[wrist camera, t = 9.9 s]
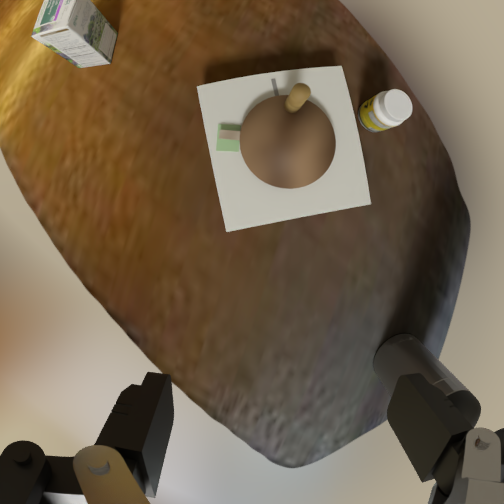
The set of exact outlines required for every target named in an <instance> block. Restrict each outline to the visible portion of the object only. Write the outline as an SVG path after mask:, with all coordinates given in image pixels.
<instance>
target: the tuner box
mask: <svg viewBox="0 0 504 504" xmlns="http://www.w3.org/2000/svg"><path fill="white" fill-rule="evenodd" d="M297 83H305V84H306V85H308V86H309V88H310V90H311V94H310V96H309V98H308V99H307V100H309V101H311V102H312V103H314V104H315V105H317V106H318V107H319V108H320V109H321V110H322V111H323V112H324V113H325V114H326V116H327V117H328V118H329V120H330V122H331V124H332V127H333V129H334V133H335V139H336V149H335V155H334V158H333V161H332V163H331V165H330V167H329V168H328V170H327V171H326V172H325V173H324V175H323V176H321V177H320V178H319V179H318V180H316V181H315V182H313V183H311V184H309V185H307V186H304V187H300V188H293V189H286V188H278V187H275V186H271V185H269V184H267V183H265V182H263V181H262V180H260V179H259V178H257V177H256V176H255V175H254V174H253V173H252V172H251V171H250V169H249V168H248V167H247V165H246V163H245V162H244V159H243V157H242V154H241V150H240V141H239V140H227V139H219V132H220V130H231V131H241V127H242V124H243V122H244V120H245V118H246V116H247V115H248V113H249V112H250V111H251V110H252V109H253V108H254V107H255V106H256V105H257V104H258V103H260V102H262V101H263V100H265V99H268V98H270V97H274V96H279V95H289V94H290V92H291V90H292V88H293V86H294V85H295V84H297ZM197 90H198V95H199V100H200V106H201V111H202V116H203V121H204V126H205V131H206V136H207V141H208V146H209V151H210V156H211V161H212V166H213V171H214V175H215V180H216V185H217V190H218V195H219V199H220V204H221V209H222V213H223V218H224V223H225V227H226V232H229V231H234V230H239V229H244V228H249V227H254V226H259V225H264V224H269V223H274V222H279V221H284V220H289V219H294V218H299V217H304V216H310V215H315V214H320V213H326V212H331V211H336V210H342V209H347V208H352V207H358V206H364V205H369V204H371V202H370V195H369V188H368V182H367V176H366V170H365V165H364V159H363V154H362V149H361V144H360V139H359V134H358V129H357V125H356V120H355V116H354V112H353V108H352V103H351V99H350V95H349V91H348V88H347V84H346V80H345V76H344V73H343V69H342V66H331V67H317V68H305V69H295V70H287V71H278V72H271V73H264V74H257V75H251V76H245V77H240V78H234V79H229V80H224V81H219V82H214V83H210V84H205V85H201V86H197Z"/></svg>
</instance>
